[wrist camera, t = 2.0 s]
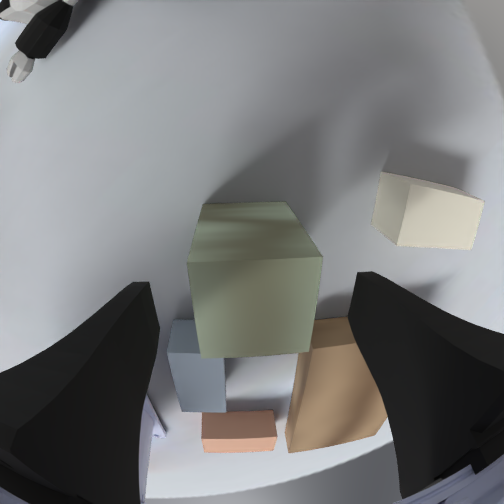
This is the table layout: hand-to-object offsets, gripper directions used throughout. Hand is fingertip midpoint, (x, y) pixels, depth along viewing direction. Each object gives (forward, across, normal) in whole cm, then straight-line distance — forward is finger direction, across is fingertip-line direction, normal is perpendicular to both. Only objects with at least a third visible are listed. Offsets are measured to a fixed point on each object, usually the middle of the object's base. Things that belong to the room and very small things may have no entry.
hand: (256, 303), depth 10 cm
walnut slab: (+5, -8, +13) cm, 16 cm away
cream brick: (+6, -10, -2) cm, 12 cm away
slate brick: (+6, +3, +8) cm, 10 cm away
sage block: (+6, 0, 0) cm, 6 cm away
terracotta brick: (+6, +1, +17) cm, 18 cm away
